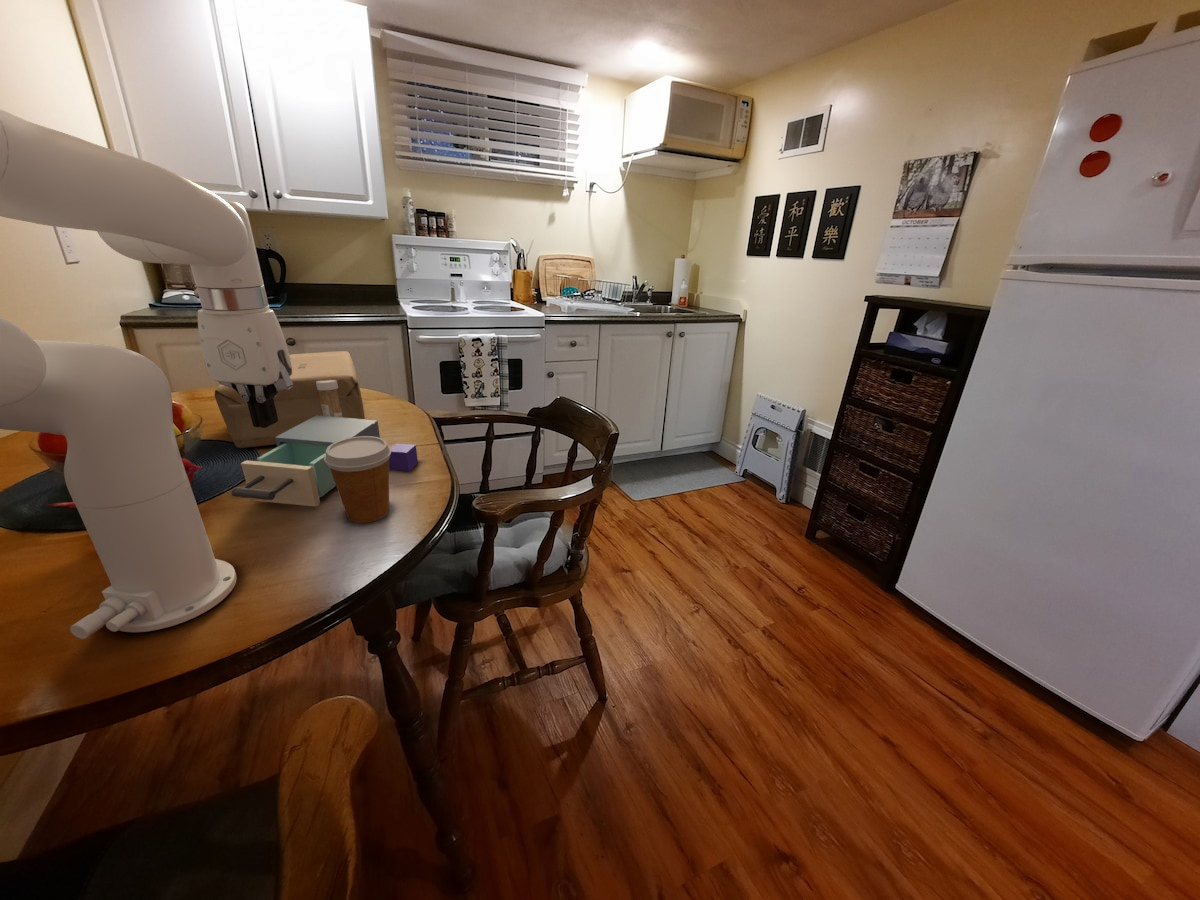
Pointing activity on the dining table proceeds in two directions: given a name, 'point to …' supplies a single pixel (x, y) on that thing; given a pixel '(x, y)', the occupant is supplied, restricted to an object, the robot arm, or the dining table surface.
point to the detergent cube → (403, 457)
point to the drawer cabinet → (328, 430)
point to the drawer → (288, 475)
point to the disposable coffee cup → (361, 476)
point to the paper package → (294, 398)
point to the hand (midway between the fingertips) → (266, 424)
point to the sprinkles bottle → (329, 398)
